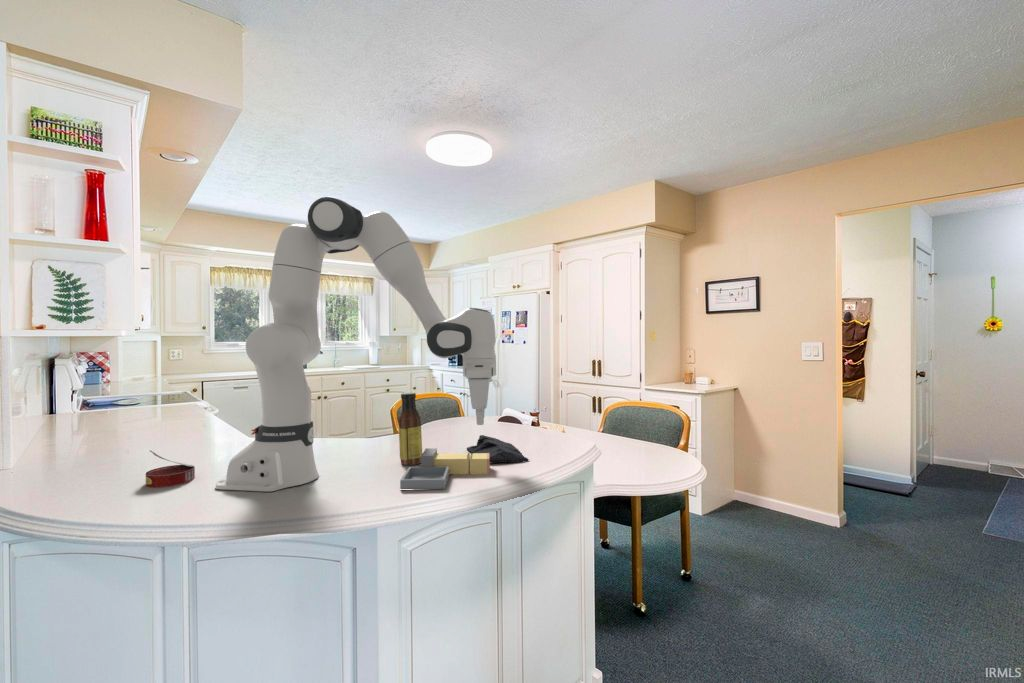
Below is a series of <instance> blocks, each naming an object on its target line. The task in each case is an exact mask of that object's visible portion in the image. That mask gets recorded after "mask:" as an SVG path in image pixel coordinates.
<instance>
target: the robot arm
mask: <svg viewBox="0 0 1024 683" xmlns="http://www.w3.org/2000/svg"><path fill="white" fill-rule="evenodd" d="M275 247H276V248H275V251H274V256H273V260H272V266H271V267H272V268H271V274H270V283H269V288H268V299H269V302H270V303H271V307H272V313H273V322H271V323H267V324H264V325H261V326H259V327H257V328H255V329H253V330H252V331H251V332H250V333H249V334H248V336H247V338H246V342H245V352H246V355H247V356H248V358H249V359H250V362H252V363H253V365H254V369H255V372H256V375H257V379H258V383H259V386H260V394H261V418H262V419H261V422H262V424H260V425H258V426H257V427H255V428H254V429H251V430H250V431H251V435H254V436H255V437H254V440H253V441H252V442H251V443H249V444H248V445H247V446H246V447H244V448H243V449H241V450H240V451H239V452H238V453H236V454H235V455H234V456H233V457H232V458H231V459H230V460H229V463H228V466H227V472H226V475H225V476H223V477H222V478H220V479H218V480H217V482H216V483H215V490H229V491H247V492H248V491H250V492H268V493H270V492H277V491H280V490H282V489H286V488H290V487H291V488H292V487H296V486H300V485H304V484H307V483H310V482H312V481H315V480H316V479H317V478H319V476H320V474H319V471H318V469H317V464H316V461H315V455H314V454H315V453H314V447H313V443H314V438H315V437H314V436H315V432H314V431H315V430H314V421H312V390H311V388H310V386H309V385H308V381H307V378H306V377H307V376H306V374H305V370H304V366H306V365H307V364H309V363H311V362H312V361H313V360H315V358H316V357H318V355H319V354H320V351H321V346H322V344H321V339H320V337H319V322H318V321H319V318H318V299H319V289H320V283H321V282H320V281H321V276H322V270H323V269H322V266H323V260H324V257H325V255H326V254H338V253H347V252H351V251H354V250H356V249H357V248H359V247H361V248H362V249H363V250H364V251H365V252H366V253H367V255H368V257H369V258H370V260H371V261H372V263H373V265H374V266H375V268H376V270H378V273H380V275H381V276H382V277H383V279H384V280H386V282H387V283H388V284H389V285H390V286H391V287H392V288H393V289H394V290H395V291H397V292H398V293H399V294H400V295H401V296H402V297H403V298H404V299H405V300H406V301H407V302H408V303H409V306H411V308H412V309H413V310H412V311H414V313H415V314H416V317H417V318H418V320H419V321H420V322H421V324H422V326H423V328H424V330H425V334H426V343H427V347H428V349H429V351H430V352H431V353H432V354H433V355H434V356H436V357H437V358H441V359H451V358H454V357H455V356H457V355H461V356H462V376H463V377H465V379H468V380H467V383H468V387H469V388H468V389H469V390H468V391H469V395H470V396H469V397H470V404H471V407H472V409H473V410H475V418H476V425H477V426H483V425H484V423H485V409H487V407H488V400H489V387H490V383H491V382H492V381H493V379H492V378H493V377H495V376H497V355H496V351H495V345H496V340H497V339H496V338H497V337H496V325H495V319H494V316H493V315H492V313H491V312H489V310H486V309H482V308H478V307H477V308H476V307H468V308H465V309H464V310H462V311H461V312H459V313H458V314H455V315H454V316H452V317H450V318H446V317H445V316H444V314H443V313H442V311H441V309H440V308H439V305H437V303H436V300H435V299H434V298H433V296H432V294H431V293H430V290H429V287H428V285H427V280H426V277H425V273H424V272H425V271H424V268H423V264H422V262H421V258H420V256H419V254H418V251H417V250H416V248H415V246H414V244H413V243H412V241H411V239H410V238H409V237H408V235H407V234H406V232H405V231H404V229H403V228H402V227H401V226H400V224H399V223H398V222H397V220H396V219H395V218H394V217H393V216H392V215H391V214H390V213H388V212H386V211H383V210H382V211H374V212H373V211H372V212H370V213H369V214H366V215H363V212H361V210H359V209H358V208H356V207H355V206H352V205H351V204H349V203H347V202H346V201H344V200H342V199H339V198H337V197H334V196H323V197H320V198H318V199H315V201H313V203H312V204H311V205H310V206H309V208H308V212H307V224H302V223H299V224H298V223H295V224H294V223H293V224H289V225H287V226H285V227H284V228H283V229H282V230H281V232H280V236H279V237H278V240H277V244H276V246H275Z"/></svg>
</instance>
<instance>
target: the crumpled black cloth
mask: <svg viewBox="0 0 1024 683" xmlns="http://www.w3.org/2000/svg"><path fill="white" fill-rule="evenodd" d="M466 450H467V451H469V453H470V454H471V453H489V461H490V464H495V463H496V464H497V463H498V462H500V463H524V462H523V461H526V462H529V461H530V459H528V457H526V456H525V455H524V456H525V457H524V456H523V455H522V454H523V453H522V452H521V451H520V450H519V448H517V447H516V446H515V445H513V444H512V443H509V442H506V441H503V440H501V439H498V438H496V437H491V436H487V435H485V434H484V435H483V434H480V435H479V437H478V439H477V442H476V445H471V446H467V447H466ZM528 460H529V461H528Z"/></svg>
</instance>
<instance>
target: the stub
mask: <svg viewBox="0 0 1024 683" xmlns="http://www.w3.org/2000/svg"><path fill="white" fill-rule="evenodd" d="M490 465H491V463H490V461H489V453H471V452H470V470H469V475H490V471H489V470H490Z"/></svg>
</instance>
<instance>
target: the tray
mask: <svg viewBox="0 0 1024 683" xmlns="http://www.w3.org/2000/svg"><path fill="white" fill-rule="evenodd" d="M404 472H405V473H404V474H403V475H402V476H401V478H400V480H399V486H400V487H399V488H400V489H445V490H446V488H445V487H447V484H448V481H449V478H450V475H449V466H433V467H421V466H409V467H408V468H407V469H406V470H405V471H404ZM448 477H449V478H448ZM447 480H448V481H447ZM446 483H447V484H446ZM400 489H399V490H400Z"/></svg>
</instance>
